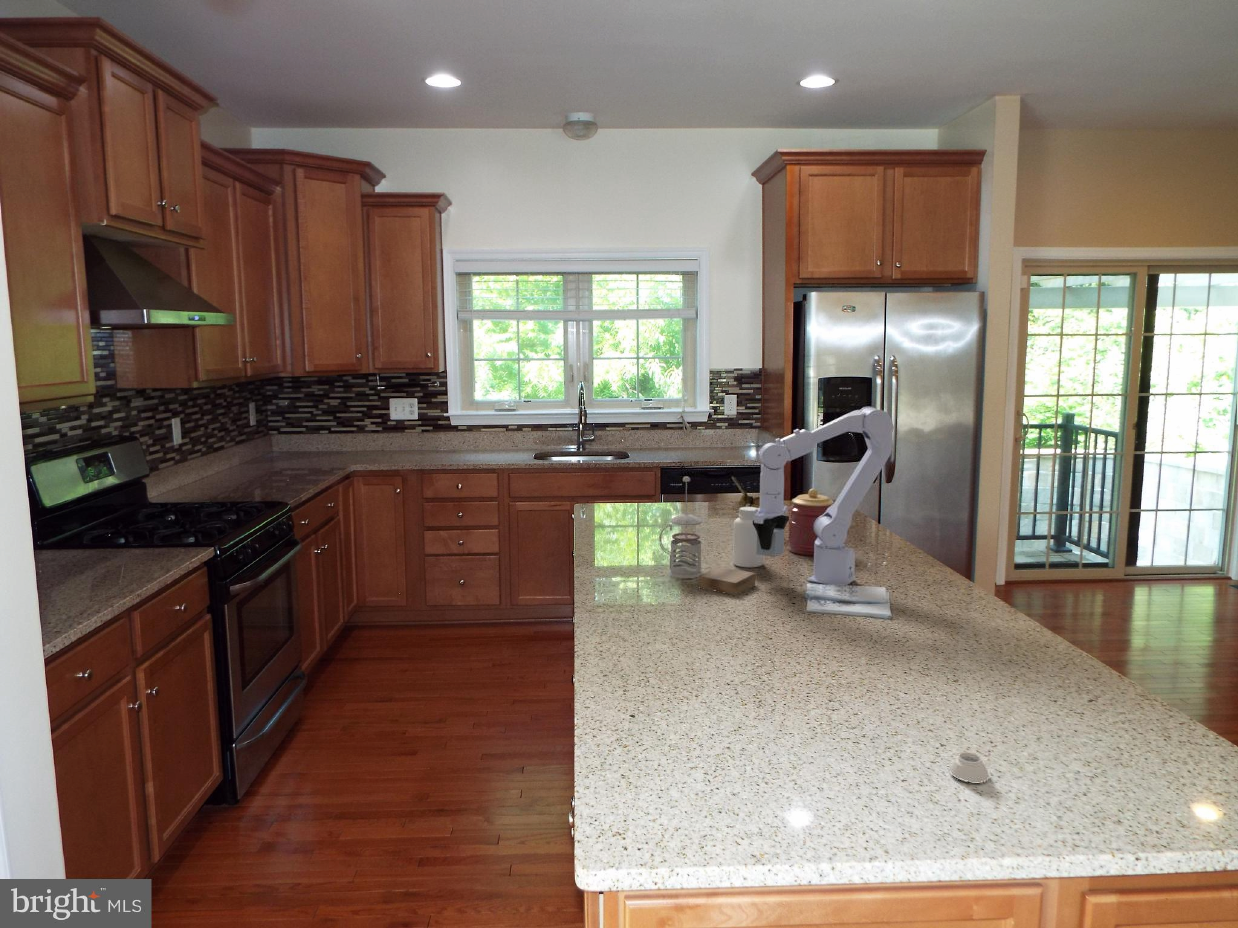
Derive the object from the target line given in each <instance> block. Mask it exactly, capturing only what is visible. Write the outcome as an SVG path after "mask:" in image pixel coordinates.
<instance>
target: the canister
mask: <svg viewBox="0 0 1238 928" xmlns="http://www.w3.org/2000/svg"><path fill="white" fill-rule="evenodd" d="M791 502H792V503H793V504H792V505H791V506H789V507H788V511H789V513H790V516H789V521H788V538H787V547H788V550H789V551H790V552H792V553H794V554H797V555H803V556H811V557H814V545H815V541H816V539H817V537H818V536H817V535H816V534H815V532H814V523H815V521H816V519H817V518H818V517H820V516H822V515H823V514H824V513H825V512H826V510H827V509H828V508H829V507H830V506H832V505H833V504H834V503H835V501H833V499H831V498H830V497H829V496H827V495H825V494H824V495H823V494H819V493H818V490H817V489H816V488H810V489H809V490H808V492H807V493H805V494H799V495H797V496H796V497H795V498H792V499H791Z"/></svg>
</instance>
